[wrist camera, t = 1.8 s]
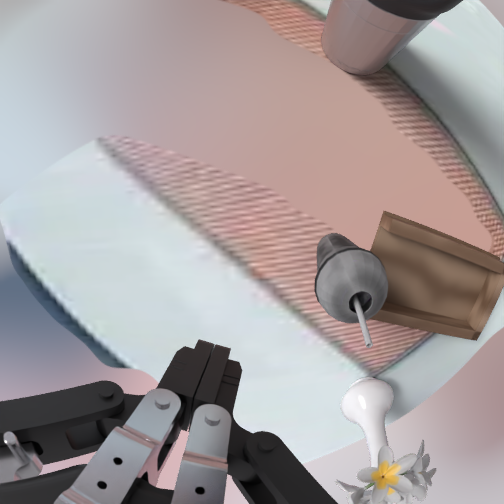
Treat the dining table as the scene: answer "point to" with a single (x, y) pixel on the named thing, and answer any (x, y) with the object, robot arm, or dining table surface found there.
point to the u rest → (435, 279)
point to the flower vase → (382, 450)
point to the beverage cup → (349, 282)
